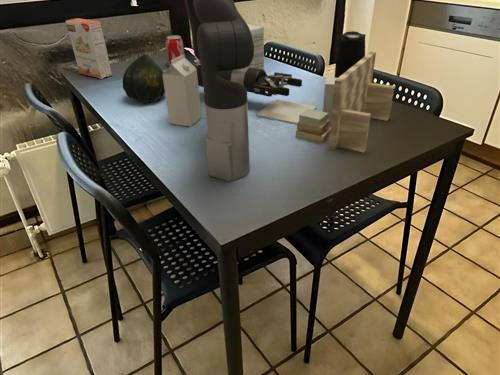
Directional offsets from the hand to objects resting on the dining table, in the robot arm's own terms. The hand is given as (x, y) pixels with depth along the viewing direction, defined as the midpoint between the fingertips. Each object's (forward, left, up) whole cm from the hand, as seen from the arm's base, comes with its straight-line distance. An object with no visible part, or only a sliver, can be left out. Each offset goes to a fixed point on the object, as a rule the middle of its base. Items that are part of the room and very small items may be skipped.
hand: (295, 87), depth 118 cm
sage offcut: (-12, -11, -4) cm, 17 cm away
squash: (-11, +50, -8) cm, 52 cm away
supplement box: (+26, +35, -8) cm, 45 cm away
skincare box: (0, -12, -8) cm, 14 cm away
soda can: (+23, +65, -8) cm, 70 cm away
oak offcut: (-12, -11, -6) cm, 18 cm away
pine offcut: (-12, -12, -9) cm, 19 cm away
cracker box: (-1, +88, -8) cm, 88 cm away
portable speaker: (+23, -9, -8) cm, 26 cm away
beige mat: (0, +2, -8) cm, 8 cm away
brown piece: (-3, -22, -8) cm, 24 cm away
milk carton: (-20, +26, -8) cm, 34 cm away
